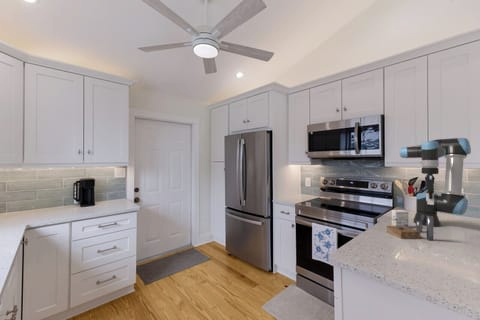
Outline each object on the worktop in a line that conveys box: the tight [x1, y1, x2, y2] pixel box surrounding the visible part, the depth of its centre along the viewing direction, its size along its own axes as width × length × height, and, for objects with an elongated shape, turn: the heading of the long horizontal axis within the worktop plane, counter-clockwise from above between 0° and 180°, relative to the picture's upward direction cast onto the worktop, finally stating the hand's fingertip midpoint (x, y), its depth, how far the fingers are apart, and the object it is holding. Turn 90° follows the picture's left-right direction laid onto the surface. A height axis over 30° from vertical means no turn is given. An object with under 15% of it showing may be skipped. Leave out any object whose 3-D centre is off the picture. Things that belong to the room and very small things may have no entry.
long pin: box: [426, 216, 434, 242], centre depth 125 cm, size 3×3×14 cm
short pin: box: [415, 221, 423, 234], centre depth 139 cm, size 3×3×7 cm
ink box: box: [391, 209, 409, 227], centre depth 149 cm, size 9×5×12 cm, turn 84°
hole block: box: [386, 225, 421, 240], centre depth 132 cm, size 12×12×4 cm
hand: (429, 202), depth 125 cm, fingers open, 13 cm apart
